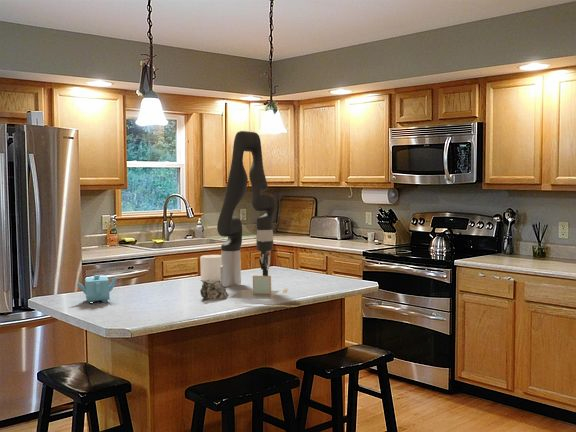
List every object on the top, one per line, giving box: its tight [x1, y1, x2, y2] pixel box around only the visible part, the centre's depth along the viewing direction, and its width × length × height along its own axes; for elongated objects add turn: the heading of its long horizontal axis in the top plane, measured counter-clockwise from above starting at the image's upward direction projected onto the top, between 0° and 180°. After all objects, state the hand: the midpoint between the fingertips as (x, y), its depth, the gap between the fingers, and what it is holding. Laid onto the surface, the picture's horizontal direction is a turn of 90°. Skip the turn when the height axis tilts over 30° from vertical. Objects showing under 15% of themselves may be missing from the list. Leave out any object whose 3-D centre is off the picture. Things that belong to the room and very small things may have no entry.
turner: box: [281, 288, 289, 294], centre depth 285 cm, size 16×4×1 cm, turn 173°
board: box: [229, 289, 280, 300], centre depth 282 cm, size 18×18×1 cm
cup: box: [199, 254, 222, 282], centre depth 327 cm, size 12×12×12 cm
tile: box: [252, 274, 272, 294], centre depth 282 cm, size 8×2×8 cm, turn 78°
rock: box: [200, 280, 229, 301], centre depth 276 cm, size 13×10×10 cm
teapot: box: [76, 274, 120, 303], centre depth 275 cm, size 16×18×11 cm
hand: (265, 278), depth 287 cm, fingers closed
